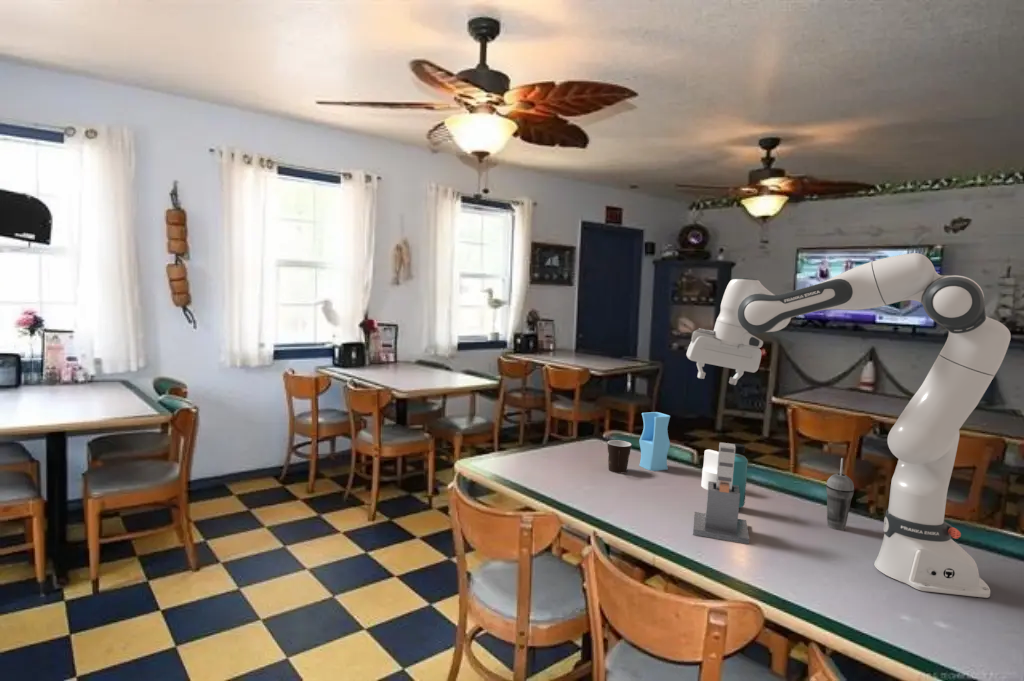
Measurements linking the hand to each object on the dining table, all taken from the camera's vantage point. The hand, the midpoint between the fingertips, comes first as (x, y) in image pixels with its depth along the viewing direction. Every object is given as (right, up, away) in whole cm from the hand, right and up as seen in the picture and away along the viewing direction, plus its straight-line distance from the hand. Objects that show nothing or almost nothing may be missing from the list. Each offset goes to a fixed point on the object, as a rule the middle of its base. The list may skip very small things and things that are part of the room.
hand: (716, 381), depth 168 cm
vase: (-5, -36, +53) cm, 65 cm away
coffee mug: (-21, -36, +46) cm, 62 cm away
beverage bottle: (+10, -40, +14) cm, 44 cm away
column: (0, -39, -4) cm, 39 cm away
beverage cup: (+36, -43, +3) cm, 56 cm away
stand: (0, -41, -4) cm, 41 cm away
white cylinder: (+11, -39, +33) cm, 52 cm away
